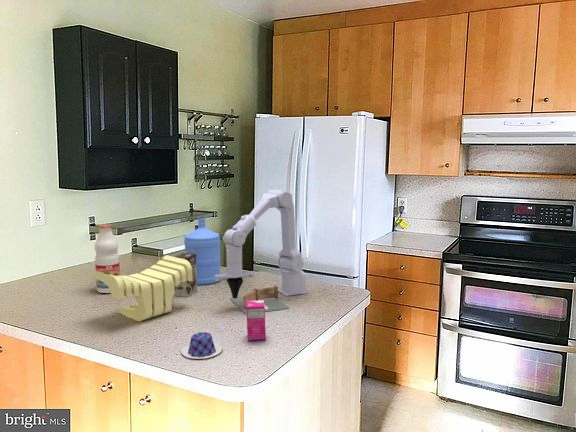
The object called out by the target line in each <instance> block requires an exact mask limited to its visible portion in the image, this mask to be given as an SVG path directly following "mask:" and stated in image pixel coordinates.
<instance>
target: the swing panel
mask: <svg viewBox="0 0 576 432" xmlns="http://www.w3.org/2000/svg"><path fill="white" fill-rule="evenodd" d="M242 297H243V299H244V307H245V308H246V302H247V301H256V291H255V290H251V291H250V292H248V293H247V294H245V295H244V296H242Z"/></svg>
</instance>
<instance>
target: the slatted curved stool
mask: <svg viewBox="0 0 576 432" xmlns="http://www.w3.org/2000/svg"><path fill="white" fill-rule="evenodd" d="M93 279H95V280H96V279H98V280H100V281H102V282H103V283H105V284H106V285H107V286H108V287H109V289H110V291H111V294H110V295H111V297H112V299H114V300H117V301H122V300H123V299H125V298H127V297H132V296H134V298H135V300H136V302H134V303H132V304H129V305H125V306H122V307H120V308H119V311H118V314H119V313H121V314H123V315H122V316H124V315H125V316H124V317H126V316H127V317H126V318H129V319H131V318H132V319H131V320H133V319H134V321H137V322H142V321H144V320H149V319H150V318H154V317H157V316H161V315H163V314H167V313H170V312H172V311H173V310H172V309H173V308H172V307H173V305H172V304H173V297H174V286H175V287H177V285H179V284H180V282H185V281H186V280H187V281H193V278H192V267H191V264H190V263H189V262H188V261H187V260H184V259H180V258H176V256H170V255H167V254H166V255H165V256H163V257H162V258H161V259H159V260H158V261H157V262H156V263H155V264H153V265H151V266H150V267H149V268H146V269H143V270H142V271H139V272H138V273H137V272H136V273H133V274H129V275H120V276H114V275H108V274H104V273H101V272H98V271H96V269H95V270H93ZM121 314H120V315H121Z"/></svg>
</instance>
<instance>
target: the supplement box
mask: <svg viewBox="0 0 576 432" xmlns="http://www.w3.org/2000/svg"><path fill="white" fill-rule="evenodd" d="M246 307H247V315H246V328H247V342H267V341H266V340H267V339H266V338H267V337H266V333H267V332H266V312H265V304H264V300H259V301H247V302H246Z"/></svg>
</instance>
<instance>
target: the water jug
mask: <svg viewBox="0 0 576 432" xmlns="http://www.w3.org/2000/svg"><path fill="white" fill-rule="evenodd" d="M197 224H198V227H197V228H196V229H194V230H193V231H190V232H189V233H187V234H185V236H184V240H183V242H184V244H183V245H184V251H185V252H186V253H195V254H196V275H197V286H206V285H213V284H215V283H216V284H217V283H218V282H219V281H215V275H218V274H221V249H220V248H221V247H220V245H221V238H220V234H219V233H217V232H215V231H213V230H211V229H208V228H207V227H206V218H199V219H198V218H197Z"/></svg>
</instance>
